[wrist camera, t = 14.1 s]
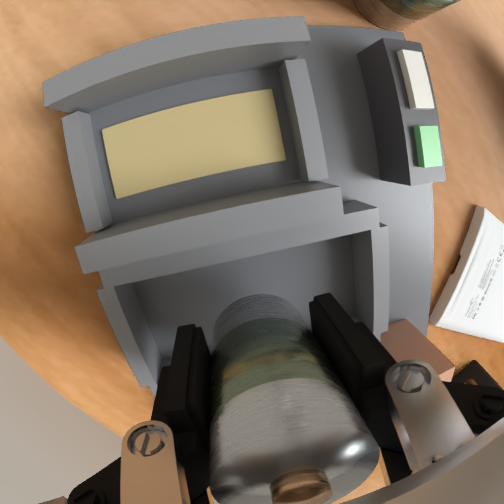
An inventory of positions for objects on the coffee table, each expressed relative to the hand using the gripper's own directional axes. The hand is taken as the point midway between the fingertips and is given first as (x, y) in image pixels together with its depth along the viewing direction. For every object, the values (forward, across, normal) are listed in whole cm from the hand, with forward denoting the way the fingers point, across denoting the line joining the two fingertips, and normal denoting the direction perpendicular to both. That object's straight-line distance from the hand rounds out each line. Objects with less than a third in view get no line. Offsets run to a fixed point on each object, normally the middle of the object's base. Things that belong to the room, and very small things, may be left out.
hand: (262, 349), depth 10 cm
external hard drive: (+6, -18, +5) cm, 20 cm away
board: (+5, -2, 0) cm, 5 cm away
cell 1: (+1, 0, 0) cm, 1 cm away
